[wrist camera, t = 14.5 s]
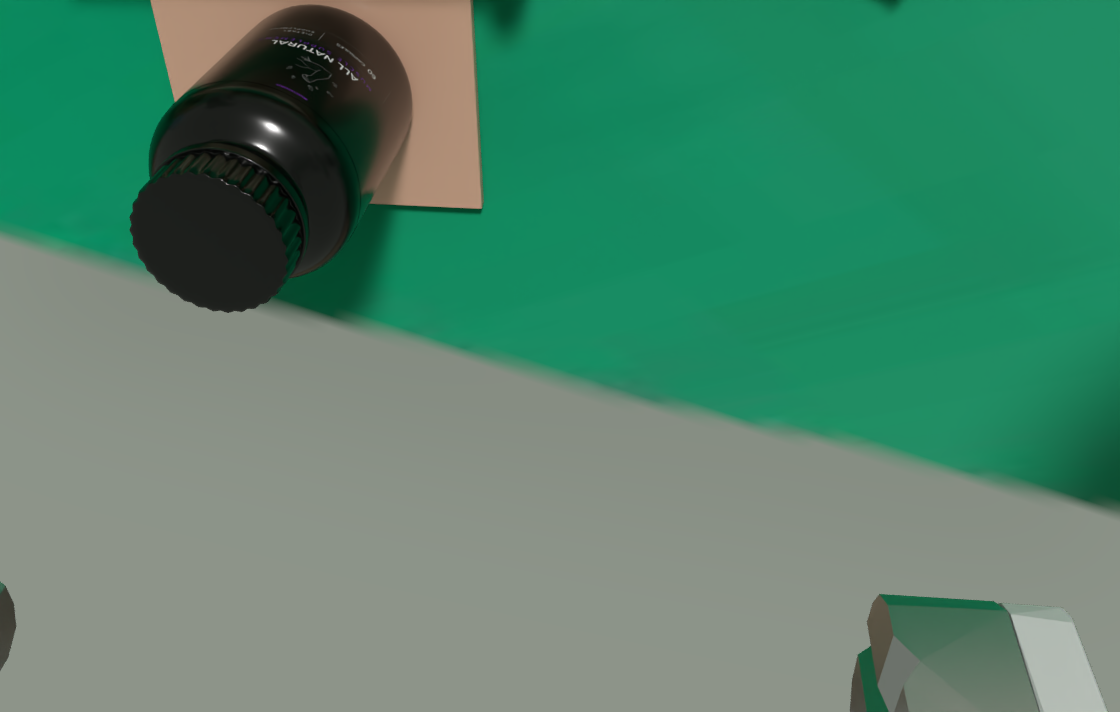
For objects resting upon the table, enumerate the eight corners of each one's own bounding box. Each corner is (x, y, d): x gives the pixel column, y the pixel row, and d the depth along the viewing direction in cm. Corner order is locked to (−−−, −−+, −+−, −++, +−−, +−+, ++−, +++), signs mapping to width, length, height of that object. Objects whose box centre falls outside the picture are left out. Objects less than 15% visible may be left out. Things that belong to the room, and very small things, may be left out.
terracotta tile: (470, -49, 36) (467, -45, 36) (483, 202, 42) (481, 208, 42) (143, -58, 37) (137, -54, 37) (202, 189, 43) (197, 195, 43)
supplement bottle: (386, -17, 37) (280, 123, 27) (436, 156, 41) (359, 331, 31) (211, 13, 38) (51, 157, 29) (276, 178, 42) (155, 353, 32)
